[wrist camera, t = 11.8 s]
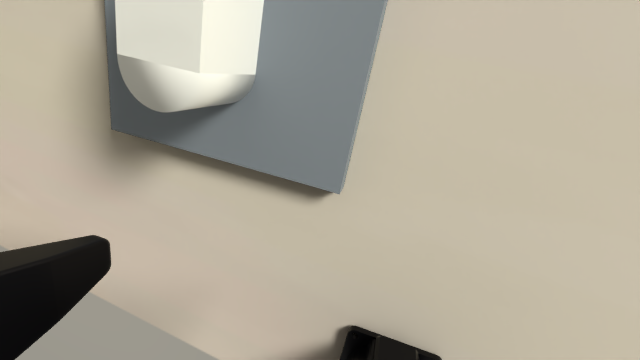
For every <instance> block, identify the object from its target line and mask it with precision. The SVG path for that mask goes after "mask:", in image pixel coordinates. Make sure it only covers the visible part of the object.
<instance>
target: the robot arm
mask: <svg viewBox="0 0 640 360" xmlns="http://www.w3.org/2000/svg"><path fill="white" fill-rule="evenodd" d="M110 267H111V253H110V243H109V241H108V240H107V239H105V238H102V237H99V236H96V235H90V236H85V237H79V238H74V239H69V240H63V241H58V242H53V243H47V244H42V245H37V246H31V247H26V248H21V249H15V250H10V251H5V252H0V360H15V359H16V358H17V357H18V356H19V355H20V354H22V353H23V352H24V351H25V350H26V349H28V348H29V347H30V346H31V345H32V344H33V343H34V342H35V341H37V340H38V339H39V338H40V337H41V336H43V334H45V333H46V332H47V331H48V330H50V329H51V328H52V327H53V326H54V325H55V324H56V323H57V322H58V321H60V320H61V319H62V318H63V317H64V316H65V315H66V314H67V313H68V312H69V311H70V310H71V309H72V308H73V307H74V306H75V305H76V304H77V303H78V302H79V301H80V300H81V299H82V298H83V297H84V296H85V295H86V294H87V293H88V292H89V291H90V290H91V289H92V288H93V287H94V286H95V285H96V284H97V283H98V282H99V281H100V280H101V279H102V278H103V277H104V276H105V275H106V274H107V272H108V271H109V269H110ZM353 333H356V334H357V335H356V334H353ZM340 360H442V359H441V358H440V357H439V356H437V355H435V354H432V353H430V352H427V351H424V350H421V349H418V348H416V347H413V346H410V345H407V344H405V343H402V342H399V341H396V340H394V339H391V338H388V337H385V336H382V335H380V334H377V333H374V332H371V331H369V330H366V329H363V328H360V327H358V326H352V327H350V328H349V331H348V334H347V337H346V341H345V344H344V347H343V351H342V354H341V357H340Z"/></svg>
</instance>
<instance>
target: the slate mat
mask: <svg viewBox="0 0 640 360" xmlns="http://www.w3.org/2000/svg"><path fill="white" fill-rule="evenodd" d="M104 1H105V19H106V38H107V56H108V74H109V92H110V110H111V129H112V130H116V131H119V132H123V133H126V134H130V135H133V136H137V137H140V138H144V139H147V140H151V141H154V142H158V143H161V144H165V145H168V146H172V147H175V148H179V149H182V150H186V151H189V152H193V153H196V154H200V155H203V156H207V157H211V158H214V159H218V160H221V161H225V162H228V163H232V164H235V165H239V166H242V167H246V168H249V169H253V170H256V171H260V172H263V173H267V174H270V175H274V176H277V177H281V178H284V179H288V180H291V181H295V182H298V183H302V184H305V185H309V186H312V187H316V188H319V189H323V190H326V191H330V192H333V193H337V194H340V192H341V191H342V189H343V187H344V182H345V178H346V174H347V170H348V165H349V161H350V157H351V153H352V149H353V144H354V140H355V136H356V132H357V127H358V123H359V119H360V115H361V111H362V106H363V102H364V98H365V94H366V90H367V85H368V81H369V77H370V73H371V68H372V64H373V60H374V56H375V52H376V47H377V43H378V39H379V35H380V31H381V26H382V22H383V18H384V14H385V9H386V5H387V1H388V0H264V5H263V13H262V22H261V31H260V40H259V48H258V57H257V66H256V74H255V80H254V83H253V86H252V88H251V90H250V91H249V93H248V94H247V95H246V96H245V97H244V98H243V99H241V100H239V101H237V102H234V103H230V104H223V105H216V106H209V107H202V108H195V109H189V110H182V111H175V112H158V111H155V110H152V109H150V108H148V107H146V106H145V105H143V104H142V103H141V102H139V101H138V100H137V99H136V98H135V97H134V96H133V94H132V93H131V92H130V91H129V89H128V87H127V86H126V84H125V82H124V80H123V78H122V75H121V72H120V69H119V65H118V58H117V39H116V13H115V0H104Z"/></svg>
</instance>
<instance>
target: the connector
mask: <svg viewBox="0 0 640 360" xmlns="http://www.w3.org/2000/svg"><path fill="white" fill-rule="evenodd" d="M263 5H264V0H115V13H116V39H117V58H118V65H119V69H120V72H121V75H122V78H123V80H124V82H125V84H126V86H127V87H128V89H129V91H130V92H131V93H132V94H133V96H134V97H135V98H136V99H137V100H138V101H139V102H141V103H142V104H143V105H145V106H146V107H148V108H150V109H152V110H155V111H158V112H175V111H182V110H189V109H195V108H202V107H209V106H216V105H223V104H230V103H234V102H237V101H239V100H241V99H243V98H244V97H245V96H246V95H247V94H248V93H249V91H250V90H251V88H252V86H253V83H254V80H255V74H256V66H257V57H258V48H259V40H260V31H261V22H262V13H263Z"/></svg>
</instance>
